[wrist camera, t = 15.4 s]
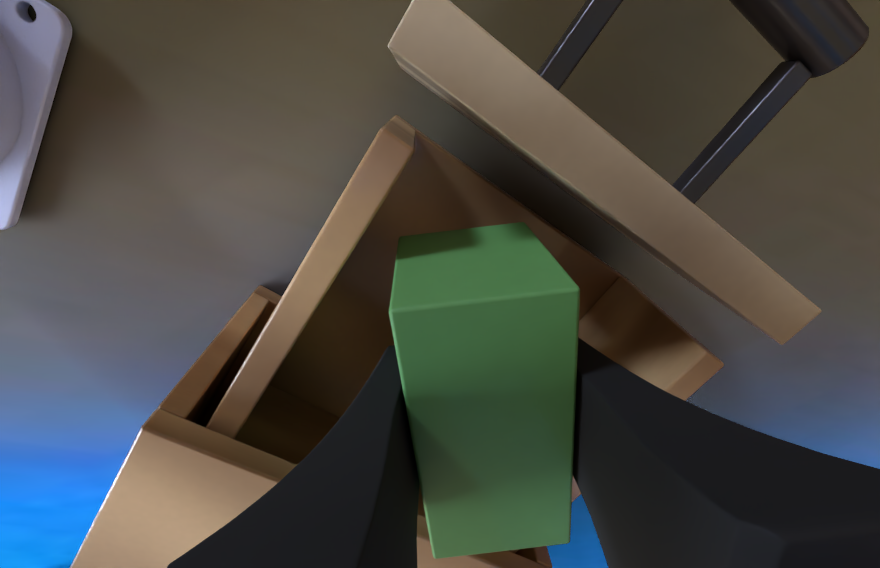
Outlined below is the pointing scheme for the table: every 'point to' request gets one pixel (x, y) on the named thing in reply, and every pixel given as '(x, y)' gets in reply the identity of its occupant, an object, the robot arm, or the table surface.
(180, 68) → the table surface
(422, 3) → the drawer
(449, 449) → the green block
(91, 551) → the cabinet
